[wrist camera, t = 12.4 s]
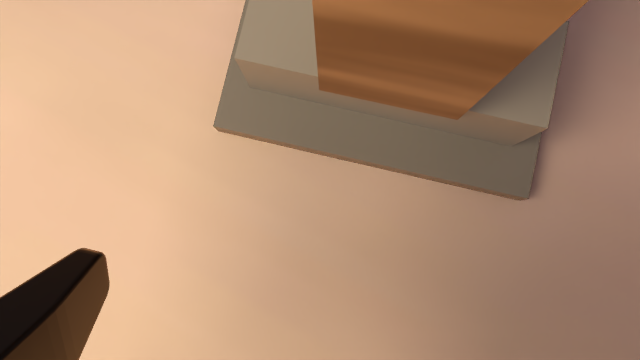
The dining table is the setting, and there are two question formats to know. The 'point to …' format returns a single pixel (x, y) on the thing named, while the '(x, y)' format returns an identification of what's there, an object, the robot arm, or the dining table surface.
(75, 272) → the robot arm
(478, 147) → the grey box
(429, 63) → the walnut post
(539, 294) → the dining table surface
